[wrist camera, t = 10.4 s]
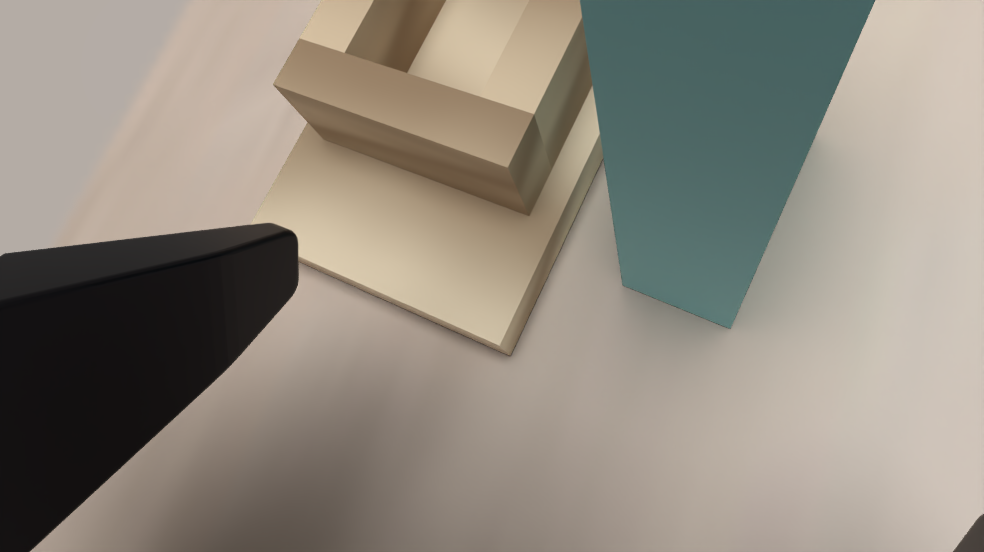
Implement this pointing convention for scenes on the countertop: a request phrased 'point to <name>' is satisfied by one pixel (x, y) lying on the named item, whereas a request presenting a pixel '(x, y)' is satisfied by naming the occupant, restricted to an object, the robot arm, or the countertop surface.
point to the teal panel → (709, 131)
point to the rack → (439, 153)
